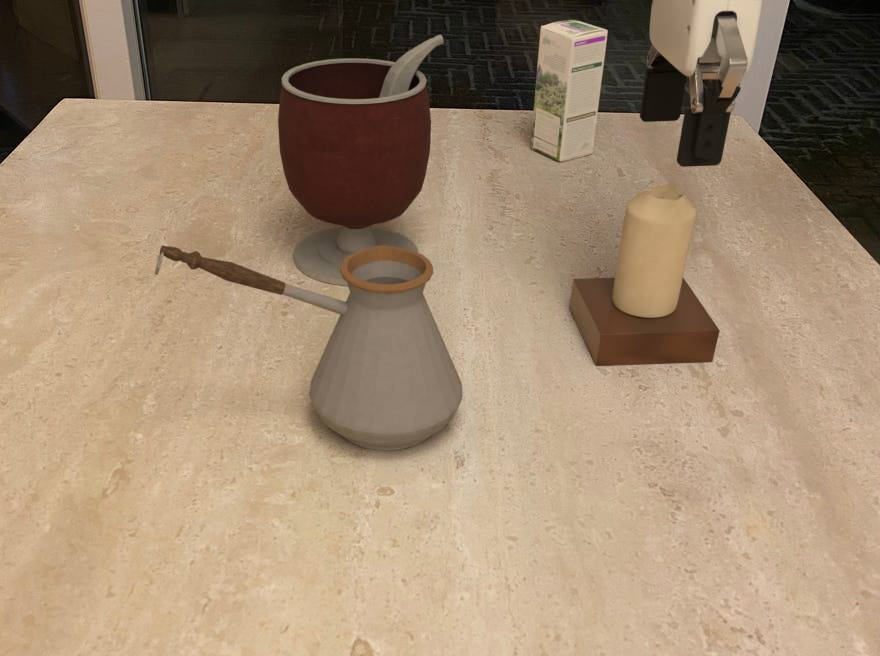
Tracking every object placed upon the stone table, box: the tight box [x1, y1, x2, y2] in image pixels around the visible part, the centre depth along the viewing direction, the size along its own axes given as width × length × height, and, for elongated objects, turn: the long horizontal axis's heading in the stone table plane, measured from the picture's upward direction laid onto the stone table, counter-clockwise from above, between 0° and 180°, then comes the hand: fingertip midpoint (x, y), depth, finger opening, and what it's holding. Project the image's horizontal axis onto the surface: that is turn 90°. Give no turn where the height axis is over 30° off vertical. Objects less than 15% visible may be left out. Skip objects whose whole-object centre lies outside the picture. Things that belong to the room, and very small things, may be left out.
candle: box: [612, 183, 697, 318], centre depth 83 cm, size 6×6×10 cm
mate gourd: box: [277, 34, 444, 287], centre depth 93 cm, size 16×14×20 cm
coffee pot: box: [154, 245, 464, 451], centre depth 71 cm, size 21×12×15 cm, turn 97°
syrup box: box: [530, 19, 609, 162], centre depth 119 cm, size 6×6×14 cm
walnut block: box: [568, 277, 720, 367], centre depth 87 cm, size 10×10×3 cm
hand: (677, 141), depth 77 cm, fingers open, 9 cm apart
